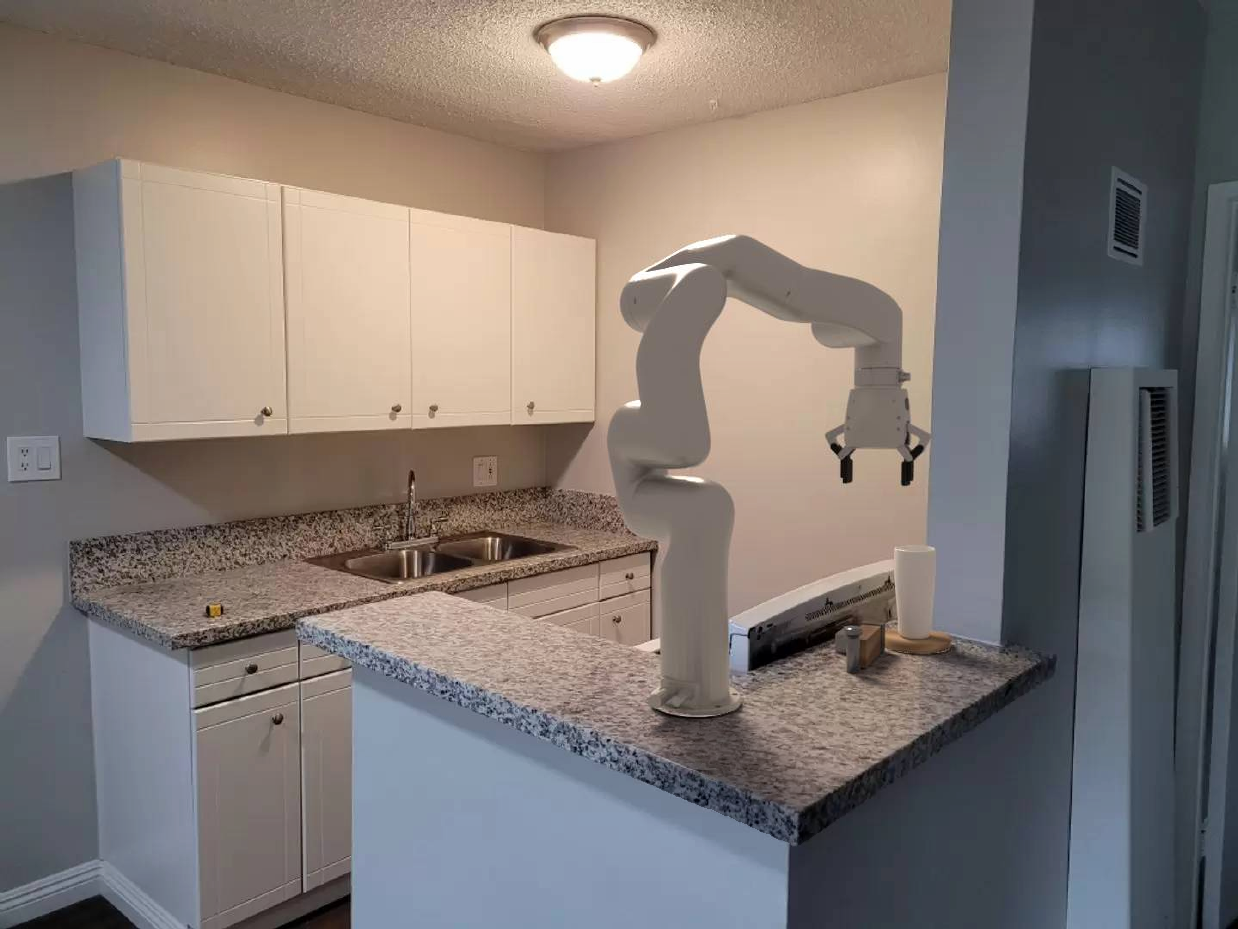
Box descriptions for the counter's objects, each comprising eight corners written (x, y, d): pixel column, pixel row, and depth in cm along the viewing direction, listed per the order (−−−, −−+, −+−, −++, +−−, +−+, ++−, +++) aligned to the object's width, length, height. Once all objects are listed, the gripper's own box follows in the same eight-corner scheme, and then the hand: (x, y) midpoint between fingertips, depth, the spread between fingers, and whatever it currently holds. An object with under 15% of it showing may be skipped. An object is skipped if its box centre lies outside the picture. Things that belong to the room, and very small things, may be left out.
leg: (885, 649, 148) (885, 622, 147) (867, 668, 138) (867, 639, 138) (864, 647, 149) (864, 620, 149) (845, 665, 140) (845, 636, 139)
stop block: (849, 653, 146) (849, 635, 146) (835, 651, 148) (835, 634, 147) (856, 647, 150) (856, 630, 150) (842, 645, 151) (842, 628, 151)
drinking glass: (930, 631, 153) (930, 544, 152) (940, 641, 147) (940, 551, 146) (889, 630, 154) (890, 544, 153) (898, 641, 147) (898, 551, 146)
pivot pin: (859, 675, 135) (859, 631, 135) (841, 672, 137) (841, 629, 136) (864, 670, 137) (864, 627, 137) (847, 667, 139) (846, 624, 138)
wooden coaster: (943, 657, 143) (943, 648, 143) (874, 649, 149) (874, 640, 149) (956, 641, 152) (956, 632, 152) (891, 633, 158) (891, 625, 158)
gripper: (937, 379, 145) (935, 484, 146) (834, 382, 154) (832, 480, 155) (926, 378, 139) (924, 488, 140) (819, 380, 148) (817, 483, 149)
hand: (876, 484), depth 148 cm, fingers open, 9 cm apart
